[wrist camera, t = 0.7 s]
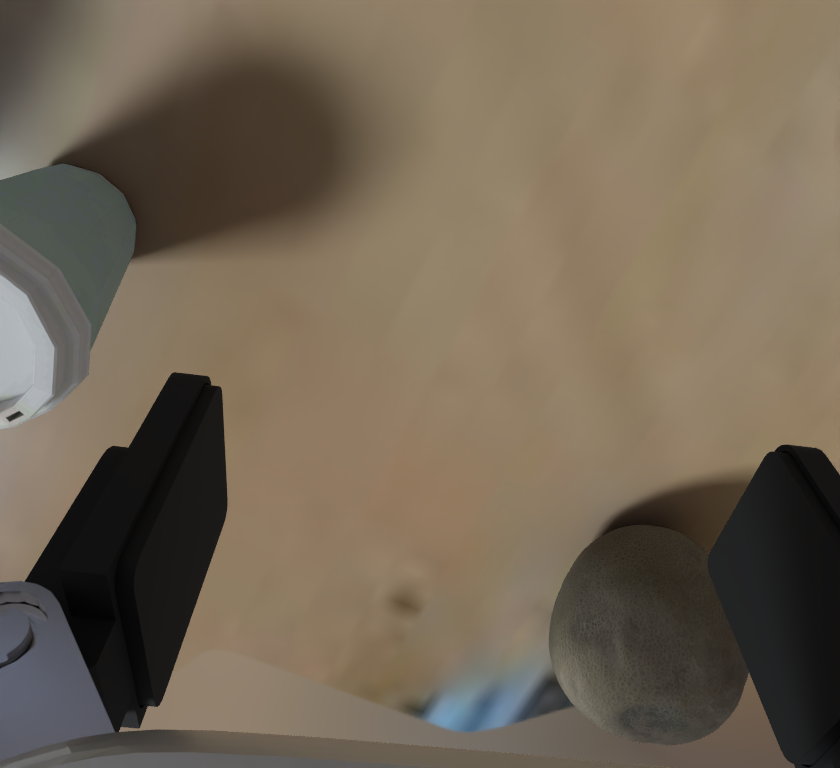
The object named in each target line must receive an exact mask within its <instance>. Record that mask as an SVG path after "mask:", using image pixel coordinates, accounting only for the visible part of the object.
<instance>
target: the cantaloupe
mask: <svg viewBox="0 0 840 768" xmlns="http://www.w3.org/2000/svg"><path fill="white" fill-rule="evenodd" d="M708 557H709V555H708V554H707V553H706V551H705V550H704V549H703V548H701V547H700V546H699V545H698V544H696V543H695V542H693V541H692V540H691V539H690V538H689V537H687V536H686V535H684V534H682V533H680V532H677V531H675V530H672V529H669V528H665V527H659V526H653V525H631V526H626V527H621V528H618V529H615V530H613V531H611V532H609V533H607V534H605V535H603V536H602V537H600V538H598V539H597V540H595V541H594V542H592V543H591V544H590V545H589V546H588V547H586V548H585V549H584V550H583V551H582V553H581V554H580V555H579V556H578V558H577V559H576V561H575V562H574V564H573V565H572V567H571V569H570V571H569V572H568V574H567V576H566V577H565V579H564V581H563V584H562V587H561V589H560V591H559V593H558V596H557V599H556V601H555V605H554V609H553V613H552V617H551V623H550V632H549V651H550V657H551V661H552V665H553V669H554V672H555V675H556V678H557V680H558V682H559V684H560V686H561V688H562V689H563V691H564V692H565V694H566V695H567V697H568V698H569V699H570V701H571V702H572V703H573V704H574V706H575V707H576V708H577V709H578V710H579V711H580V712H581V713H582V714H583V715H584V716H585V717H587V718H588V719H589V720H590V721H591V722H593V723H594V724H595V725H597V726H598V727H599V728H601V729H603V730H605V731H607V732H608V733H610V734H613V735H615V736H618V737H620V738H624V739H627V740H630V741H636V742H642V743H654V744H660V745H677V744H683V743H688V742H692V741H695V740H698V739H701V738H703V737H705V736H707V735H709V734H711V733H713V732H714V731H715V730H717V729H718V728H719V727H720V726H721V725H722V724H723V723H724V722H725V721H726V720H727V719H728V718H729V717H730V715H731V714H732V713H733V711H734V710H735V708H736V707H737V705H738V702H739V700H740V698H741V695H742V692H743V689H744V685H745V683H746V680H747V677H748V673H749V670H748V668H747V666H746V663H745V661H744V658H743V656H742V653H741V651H740V648H739V646H738V644H737V641H736V639H735V636H734V634H733V631H732V629H731V626H730V624H729V622H728V619H727V617H726V614H725V612H724V609H723V607H722V605H721V602H720V600H719V597H718V595H717V592H716V590H715V587H714V585H713V583H712V580H711V578H710V575H709V572H708Z"/></svg>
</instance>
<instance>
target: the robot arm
mask: <svg viewBox="0 0 840 768" xmlns="http://www.w3.org/2000/svg"><path fill="white" fill-rule="evenodd" d="M226 512H227V482H226V462H225V441H224V421H223V401H222V390H221V387H219V386H211V381H210V378H209V377H208V376H201V375H193V374H184V373H176V372H174V373H172V374H171V375H170V377H169V378H168V380H167V382H166V383H165V385H164V387H163V389H162V390H161V392H160V394H159V396H158V397H157V399H156V401H155V403H154V404H153V406H152V408H151V410H150V411H149V413H148V415H147V417H146V418H145V420H144V422H143V423H142V425H141V427H140V429H139V430H138V432H137V434H136V436H135V437H134V439H133V441H132V443H131V444H130V446H129V448H127V447H118V446H112V447H110V448H108V449H107V450H106V451H105V453H104V454H103V455H102V457H101V458H100V460H99V462H98V463H97V465H96V466H95V468H94V470H93V471H92V473H91V475H90V476H89V478H88V480H87V481H86V483H85V484H84V486H83V488H82V489H81V491H80V493H79V494H78V496H77V497H76V499H75V501H74V502H73V504H72V506H71V507H70V509H69V510H68V512H67V514H66V515H65V517H64V519H63V520H62V522H61V523H60V525H59V527H58V528H57V530H56V532H55V533H54V535H53V536H52V538H51V540H50V541H49V543H48V545H47V546H46V548H45V549H44V551H43V553H42V554H41V556H40V558H39V559H38V561H37V563H36V564H35V566H34V567H33V569H32V571H31V572H30V574H29V576H28V577H27V579H26V580H25V582H23V581H14V582H1V583H0V768H672V767H661V766H650V765H638V764H627V763H615V762H605V761H593V760H582V759H570V758H558V757H547V756H535V755H524V754H513V753H502V752H501V753H500V752H490V751H478V750H466V749H454V748H441V747H429V746H417V745H404V744H393V743H381V742H369V741H357V740H345V739H333V738H320V737H305V736H289V735H274V734H258V733H243V732H228V731H207V730H204V731H203V730H144V731H128V732H119V730H120V727H129V728H140V725H141V723H142V720H143V717H144V715H145V712H146V709H147V706H155V707H158V706H159V705H160V703H161V701H162V699H163V696H164V694H165V691H166V688H167V685H168V682H169V680H170V677H171V674H172V671H173V668H174V665H175V662H176V660H177V657H178V654H179V651H180V648H181V645H182V642H183V639H184V637H185V634H186V631H187V628H188V625H189V622H190V619H191V616H192V614H193V611H194V608H195V605H196V602H197V599H198V596H199V593H200V591H201V588H202V585H203V582H204V579H205V576H206V573H207V570H208V568H209V565H210V562H211V559H212V556H213V553H214V550H215V547H216V545H217V542H218V539H219V536H220V533H221V530H222V527H223V524H224V521H225V517H226ZM708 572H709V575H710V578H711V580H712V583H713V585H714V587H715V590H716V592H717V595H718V597H719V600H720V602H721V605H722V607H723V609H724V612H725V614H726V617H727V619H728V622H729V624H730V626H731V629H732V631H733V634H734V636H735V639H736V641H737V644H738V646H739V648H740V651H741V653H742V656H743V658H744V661H745V663H746V666H747V668H748V670H749V673H750V675H751V678H752V680H753V683H754V685H755V687H756V690H757V692H758V695H759V697H760V700H761V702H762V704H763V707H764V710H765V712H766V714H767V717H768V719H769V722H770V724H771V727H772V729H773V731H774V734H775V736H776V739H777V741H778V744H779V746H780V749H781V751H782V752H783V755H784V756H785V758H786V759H787V760H788V761H789V762H791V763H793V764H794V765H795V768H840V475H839V473H838V472H837V470H836V469H835V468H834V466H833V465H832V463H831V462H830V461H829V459H828V458H827V456H826V455H825V454H824V453H823V452H822V451H821V450H819V449H817V448H811V447H802V446H794V445H781V446H780V447H778V448H777V449H776V450H775V452H769V453H768V454H767V455H766V456H765V457H764V459H763V461H762V463H761V464H760V466H759V468H758V469H757V471H756V473H755V475H754V476H753V478H752V480H751V482H750V483H749V485H748V487H747V489H746V490H745V492H744V494H743V496H742V497H741V499H740V501H739V503H738V504H737V506H736V508H735V510H734V511H733V513H732V515H731V517H730V518H729V520H728V522H727V524H726V525H725V527H724V529H723V531H722V532H721V534H720V536H719V538H718V539H717V541H716V543H715V545H714V546H713V548H712V550H711V552H710V554H709V557H708Z"/></svg>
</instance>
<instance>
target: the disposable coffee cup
mask: <svg viewBox="0 0 840 768" xmlns="http://www.w3.org/2000/svg"><path fill="white" fill-rule="evenodd" d="M135 221H136V219H135V217H134V215H133V213H132V211H131V209H130V207H129V205H128V203H127V200H126V198H125V196H124V194H123V193H122V192H121V191H119V190H118V189H117V188H116V187H115V186H114V185H112V184H111V183H110V182H109V181H108V180H107V179H105V178H104V177H103V176H102V175H101V174H99V173H96V172H92V171H89V170H86V169H82V168H79V167H75V166H72V165H67V164H64V163H63V164H58V165H54V166H50V167H46V168H41V169H37V170H33V171H30V172H27V173H23V174H20V175H17V176H13V177H10V178H6V179H3V180H0V429H5V428H10V427H15V426H18V425H20V424H22V423H24V422H26V421H28V420H30V419H32V418H35V417H37V416H39V415H41V414H44V413H46V412H48V411H50V410H52V409H53V408H54V407H55V406H56V405H57V404H58V403H59V402H61V401H63V400H64V399H65V398H66V397H67V396H68V395H69V394H70V393H71V392H72V391H73V390H74V389H75V388H76V387H77V386H78V385H79V384H80V383H81V382H82V381H83V380H84V379H85V378H86V377H87V376H88V375H89V360H90V351H91V348H92V346H93V344H94V342H95V339H96V337H97V335H98V332H99V330H100V328H101V326H102V323H103V321H104V319H105V317H106V314H107V312H108V310H109V307H110V305H111V303H112V301H113V298H114V296H115V294H116V292H117V289H118V287H119V285H120V282H121V280H122V278H123V276H124V273H125V271H126V269H127V267H128V264H129V262H130V260H131V257H132V255H133V253H134V248H135V236H136V222H135Z"/></svg>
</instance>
